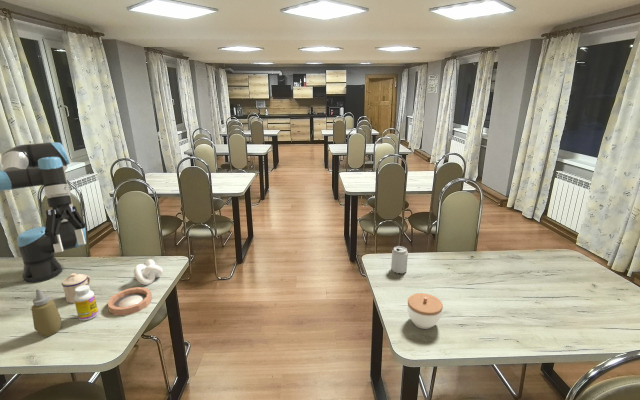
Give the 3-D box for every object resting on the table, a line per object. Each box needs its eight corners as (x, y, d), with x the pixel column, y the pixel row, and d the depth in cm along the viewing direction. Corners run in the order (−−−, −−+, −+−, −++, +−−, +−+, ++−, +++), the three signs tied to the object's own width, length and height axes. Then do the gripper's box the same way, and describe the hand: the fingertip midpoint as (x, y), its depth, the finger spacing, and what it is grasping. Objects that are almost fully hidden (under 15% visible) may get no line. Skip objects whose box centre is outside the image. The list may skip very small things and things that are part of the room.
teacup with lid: (80, 304, 146) (73, 280, 142) (60, 302, 147) (54, 278, 143) (101, 289, 157) (95, 266, 153) (82, 287, 158) (77, 264, 154)
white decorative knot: (149, 289, 156) (145, 272, 153) (128, 285, 160) (125, 267, 157) (167, 277, 166) (164, 260, 164) (147, 273, 170) (144, 256, 167)
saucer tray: (106, 301, 147) (105, 295, 147) (147, 288, 157) (146, 283, 156) (112, 320, 135) (111, 314, 134) (156, 305, 145) (155, 299, 144)
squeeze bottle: (33, 341, 124) (20, 298, 119) (40, 328, 131) (28, 286, 126) (60, 335, 127) (48, 292, 122) (66, 322, 134) (54, 281, 129)
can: (390, 266, 175) (392, 244, 171) (405, 267, 174) (407, 245, 170) (391, 274, 168) (392, 251, 164) (407, 275, 167) (409, 252, 163)
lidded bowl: (403, 312, 139) (405, 288, 136) (434, 313, 139) (437, 288, 135) (410, 333, 127) (412, 307, 124) (444, 334, 127) (447, 308, 123)
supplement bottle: (94, 320, 135) (87, 291, 132) (75, 322, 134) (68, 293, 130) (101, 310, 142) (95, 282, 138) (83, 311, 141) (76, 284, 137)
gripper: (44, 196, 125) (58, 253, 127) (87, 192, 150) (98, 240, 151) (23, 200, 125) (38, 257, 126) (70, 195, 149) (81, 243, 151)
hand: (71, 248), depth 139 cm, fingers open, 13 cm apart
